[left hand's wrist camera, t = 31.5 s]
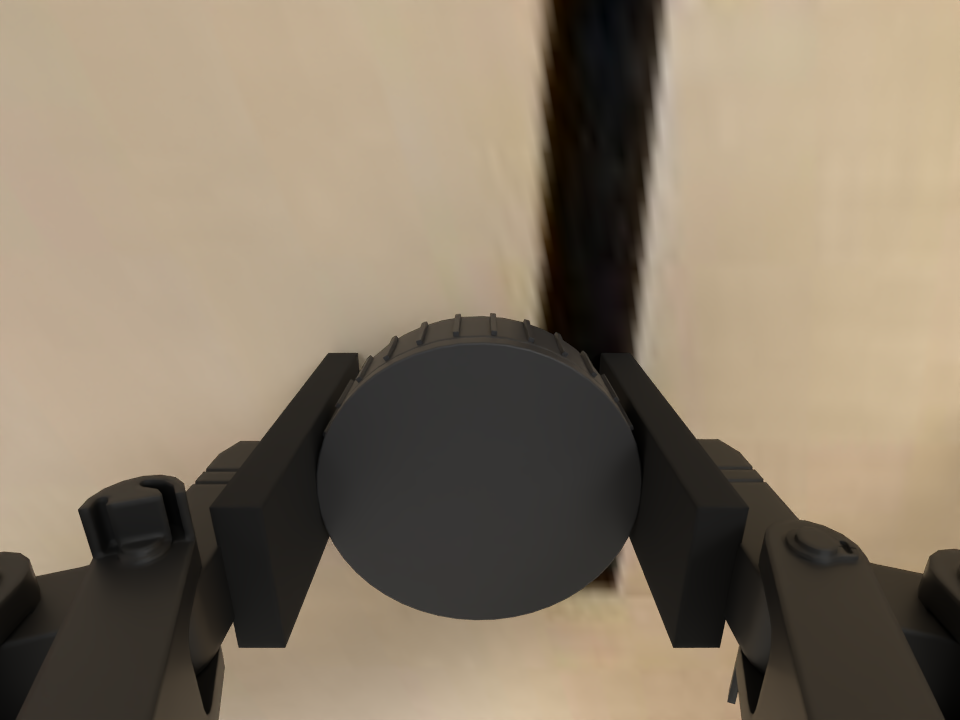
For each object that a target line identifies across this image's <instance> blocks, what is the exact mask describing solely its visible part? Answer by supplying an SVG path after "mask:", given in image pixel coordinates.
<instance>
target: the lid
mask: <svg viewBox="0 0 960 720" xmlns="http://www.w3.org/2000/svg"><path fill="white" fill-rule="evenodd" d="M335 407H336V408H337V409H336V411H335V413H334V414H333V416H332V418H331V420H330V422H329V423H328V425H327V427H326V429H325V430H324V432H323V436H324V440H323V443H322V446H321V449H320V453H319V457H318V465H317V472H316V484H317V496H318V503H319V508H320V512H321V515H322V518H323V521H324V524H325V527H326V529H327V531H328V533H329V535H330V537H331V539H332V541H333V543H334V545H335V546H336V548H337V549H338V551H339V552H340V554H341V555H342V557H343V558H344V559H345V560H346V562H347V563H348V564H349V565H350V566H351V567H352V568H353V569H354V570H355V572H356V573H358V574H359V575H360V576H361V577H362V578H363V579H364V580H366V581H367V582H368V583H369V584H370V585H372V586H373V587H375V588H376V589H378V590H379V591H381V592H382V593H383V594H385V595H387V596H389V597H391V598H392V599H394V600H396V601H398V602H400V603H402V604H404V605H407V606H409V607H412V608H415V609H417V610H420V611H423V612H427V613H430V614H434V615H438V616H443V617H449V618H455V619H467V620H495V619H502V618H510V617H516V616H520V615H524V614H529V613H533V612H535V611H538V610H541V609H544V608H547V607H550V606H552V605H554V604H556V603H558V602H560V601H562V600H565V599H567V598H568V597H570V596H572V595H573V594H575V593H576V592H578V591H580V590H581V589H583V588H584V587H585V586H587V585H588V584H589V583H590V582H592V581H593V580H594V579H596V578H597V577H598V576H599V575H600V574H601V573H602V572H603V571H604V570H605V569H606V568H607V567H608V566H609V565H610V564H611V562H612V561H613V560H614V558H615V557H616V556H617V554H618V553H619V552H620V551H621V549H622V547H623V546H624V544H625V542H626V540H627V539H628V537H629V535H630V533H631V530H632V528H633V525H634V523H635V520H636V518H637V514H638V509H639V505H640V500H641V491H642V469H641V461H640V456H639V452H638V448H637V444H636V441H635V439H634V436H633V434H632V432H631V430H634V428H633V425H632V424H631V422H630V420H629V418H628V417H627V415H626V413H625V411H624V409H623V408H622V406H621V404H620V402H619V398H618V397H617V395H616V393H615V391H614V390H613V388H612V386H611V384H610V383H609V381H608V379H607V377H606V376H605V374H603V375H600V374H599V373H598V372H597V371H596V369H595V368H594V367H593V365H592V363H591V361H590V360H589V358H588V356H587V354H586V353H585V352H584V351H582V352H581V353H579V352H578V351H577V350H576V349H575V348H573V347H572V346H570V345H569V344H568V343H566V342H565V341H563V340H562V337H561V335H560V334H559V333H557V332H556V333H555V334H554V335H553V334H551V333H549V332H547V331H545V330H543V329H540V328H538V327H535V326H532V325H530V321H529V320H525V319H524V322H519V321H515V320H510V319H506V318H497V317H496V314H493V313H490V317H486V316H478V317H461V314H456V315H455V318H454V319H448V320H442V321H439V322H436V323H433V324H429V325H428V323H427V322H424V323H422V325H421V328H418V329H416V330H414V331H412V332H409V333H407V334H405V335H404V336H402V337H400V338H399V339H398V337H397V336H395V337H393V338H392V339H391V342H390V344H389V345H388V346H387V347H385V348H384V349H383V350H382V351H381V352H379V353H378V354H377V355H376V356H374V358H373V357H372V356H371V355H370V356H369V357H368V358H367V360H366V362H365V363H364V365H363V367H362V369H361V371H360V372H359V374H358V376H357V378H356V380H355V381H353V380H350V381H349V383H348V385H347V387H346V388H345V390H344V392H343V393H342V395H341V397H340V399H339V400H338V402H337V404H336V406H335Z"/></svg>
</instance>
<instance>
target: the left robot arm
mask: <svg viewBox="0 0 960 720" xmlns="http://www.w3.org/2000/svg"><path fill="white" fill-rule="evenodd" d="M358 374H359V363H358V353H328V354H327V356H326V357H325V358H324V360H323V361H322V362H321V363H320V365H319V366H318V367H317V369H316V370H315V371H314V372H313V374H312V375H311V376H310V378H309V379H308V380H307V382H306V383H305V384H304V385H303V387H302V388H301V389H300V391H299V392H298V393H297V394H296V396H295V397H294V398H293V400H292V401H291V402H290V404H289V405H288V406H287V407H286V409H285V410H284V411H283V413H282V414H281V415H280V416H279V418H278V419H277V420H276V422H275V423H274V424H273V426H272V427H271V428H270V429H269V431H268V432H267V433H266V435H265V436H264V437H263V438H262V440H261V441H240V442H238V443H237V444H235V445H233V446H232V447H230V448H228V449H227V450H225V451H223V452H222V453H220V454H219V455H218V456H217V457H216V458H215V459H214V461H213V462H212V463H211V464H210V465H209V466H208V467H207V469H206V472H203V473H202V474H201V475H200V477H199V478H198V479H197V480H196V481H195V482H196V483H195V484H193V485H192V486H191V487H190V488H189V489H188V490H187V491H185V487H184V483H183V482H181V481H180V480H179V479H177V478H176V477H171V476H166V475H151V476H142V477H137V478H133V479H129V480H125V481H122V482H119V483H117V484H115V485H112V486H110V487H107V488H105V489H103V490H101V491H100V492H98V493H97V494H95V495H93V496H92V497H90V498H89V499H87V501H86V502H85V503H84V504H83V505H82V506H81V507H80V508H79V509H78V512H79V515H80V518H81V521H82V524H83V527H84V531H85V534H86V537H87V540H88V543H89V546H90V550H91V553H92V556H93V560H92V562H91V564H90V565H88V566H84V567H80V568H75V569H70V570H65V571H60V572H55V573H51V574H46V575H41V576H35V574H34V571H33V568H32V565H31V563H30V560H29V559H28V558H27V557H25V556H24V555H22V554H21V553H13V552H0V720H218V719H219V711H220V703H221V694H222V686H223V678H224V669H225V666H224V659H223V654H222V649H221V644H222V642H223V640H224V638H225V636H226V634H227V632H228V630H229V629H230V627H231V625H232V623H234V628H235V632H236V637H237V642H238V646H239V648H285V647H286V644H287V642H288V639H289V637H290V634H291V632H292V629H293V627H294V624H295V622H296V619H297V617H298V614H299V612H300V609H301V607H302V604H303V602H304V599H305V597H306V594H307V592H308V589H309V587H310V584H311V582H312V579H313V577H314V574H315V572H316V569H317V566H318V564H319V561H320V559H321V556H322V554H323V551H324V549H325V546H326V544H327V541H328V539H329V536H330V535H329V533H328V531H327V529H326V527H325V524H324V521H323V518H322V515H321V512H320V508H319V503H318V496H317V484H316V472H317V465H318V457H319V453H320V449H321V446H322V443H323V440H324V436H323V432H324V430H325V429H326V427H327V425H328V423H329V422H330V420H331V418H332V416H333V414H334V413H335V411H336V409H337V408H336V407H335V406H336V404H337V402H338V400H339V399H340V397H341V395H342V393H343V392H344V390H345V388H346V387H347V385H348V383H349V381H350V380H353V381H355V380H356V378H357V376H358ZM599 374H600V375H603V374H605V376H606V377H607V379H608V381H609V383H610V384H611V386H612V388H613V390H614V391H615V393H616V395H617V397H618V398H619V402H620V404H621V406H622V408H623V409H624V411H625V413H626V415H627V417H628V418H629V420H630V422H631V424H632V425H633V428H634V430H631V432H632V434H633V436H634V439H635V441H636V444H637V448H638V452H639V456H640V461H641V469H642V491H641V500H640V505H639V509H638V514H637V518H636V520H635V523H634V525H633V528H632V530H631V533H630V535H629V537H630V540H631V542H632V545H633V547H634V550H635V553H636V555H637V558H638V560H639V563H640V565H641V568H642V570H643V573H644V575H645V578H646V580H647V583H648V585H649V588H650V590H651V593H652V595H653V598H654V600H655V603H656V605H657V608H658V610H659V613H660V615H661V618H662V620H663V623H664V625H665V628H666V630H667V633H668V636H669V638H670V641H671V643H672V646H673V648H720V644H721V639H722V635H723V630H724V625H725V620H726V621H727V623H728V625H729V627H730V629H731V630H732V632H733V634H734V636H735V638H736V640H737V642H738V644H739V649H738V654H737V658H736V662H735V667H734V671H733V676H732V680H731V684H730V689H729V695H728V701H727V702H729V703H733V704H735V702H736V698H737V694H738V693H739V701H740V709H741V718H742V720H960V550H958V549H948V550H938V551H937V552H935V553H934V554H932V555H931V556H930V557H929V560H928V562H927V565H926V568H925V571H924V573H923V574H921V573H916V572H911V571H907V570H902V569H897V568H892V567H887V566H882V565H877V564H873V563H869V561H868V558H867V557H866V556H865V554H864V553H863V552H862V550H861V549H860V548H859V547H858V545H856V544H855V543H854V542H852V541H851V540H850V539H848V538H847V537H845V536H844V535H843V534H841V533H839V532H836V531H834V530H832V529H830V528H828V527H826V526H823V525H820V524H816V523H812V522H809V521H805V520H799V519H798V518H797V517H796V516H795V514H794V513H793V512H792V511H791V510H790V509H789V508H788V507H787V505H786V504H785V503H784V502H783V501H782V500H781V499H780V497H779V496H778V495H777V494H776V493H775V492H774V491H773V490H772V488H771V487H770V486H769V485H768V484H767V483H766V482H763V478H762V477H761V476H760V475H759V474H758V473H757V471H756V470H753V469H752V466H751V465H750V464H749V462H748V461H747V460H746V459H745V458H744V457H743V456H742V454H741V453H740V452H739V451H737V450H735V449H734V448H732V447H730V446H729V445H727V444H725V443H724V442H722V441H720V440H719V439H696V438H695V437H694V435H693V434H692V433H691V431H690V430H689V429H688V428H687V426H686V425H685V424H684V422H683V421H682V420H681V418H680V417H679V416H678V415H677V413H676V412H675V411H674V409H673V408H672V407H671V406H670V404H669V403H668V402H667V400H666V399H665V398H664V396H663V395H662V394H661V393H660V391H659V390H658V389H657V387H656V386H655V385H654V383H653V382H652V381H651V380H650V378H649V377H648V376H647V374H646V373H645V372H644V371H643V369H642V368H641V367H640V365H639V364H638V363H637V361H636V360H635V359H634V358H633V356H632V355H631V354H630V353H601V357H600V369H599Z"/></svg>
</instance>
